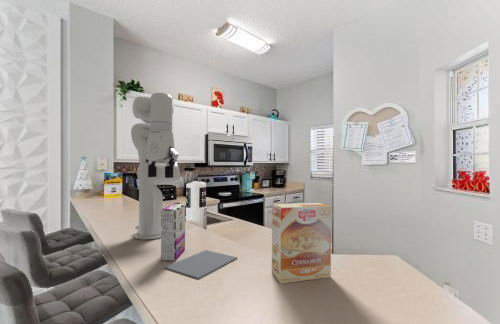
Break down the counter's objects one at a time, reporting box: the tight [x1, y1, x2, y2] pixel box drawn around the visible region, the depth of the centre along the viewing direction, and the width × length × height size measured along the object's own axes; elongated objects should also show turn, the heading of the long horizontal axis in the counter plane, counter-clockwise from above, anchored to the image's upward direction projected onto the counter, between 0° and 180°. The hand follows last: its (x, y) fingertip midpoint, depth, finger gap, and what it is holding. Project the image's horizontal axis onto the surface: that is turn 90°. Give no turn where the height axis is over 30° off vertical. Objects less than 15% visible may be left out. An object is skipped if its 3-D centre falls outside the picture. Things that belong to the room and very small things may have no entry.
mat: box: [164, 249, 238, 280], centre depth 77 cm, size 14×18×1 cm
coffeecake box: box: [271, 202, 332, 284], centre depth 69 cm, size 15×7×20 cm, turn 105°
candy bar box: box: [160, 203, 186, 262], centre depth 84 cm, size 11×5×16 cm, turn 179°
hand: (160, 177), depth 89 cm, fingers open, 8 cm apart
